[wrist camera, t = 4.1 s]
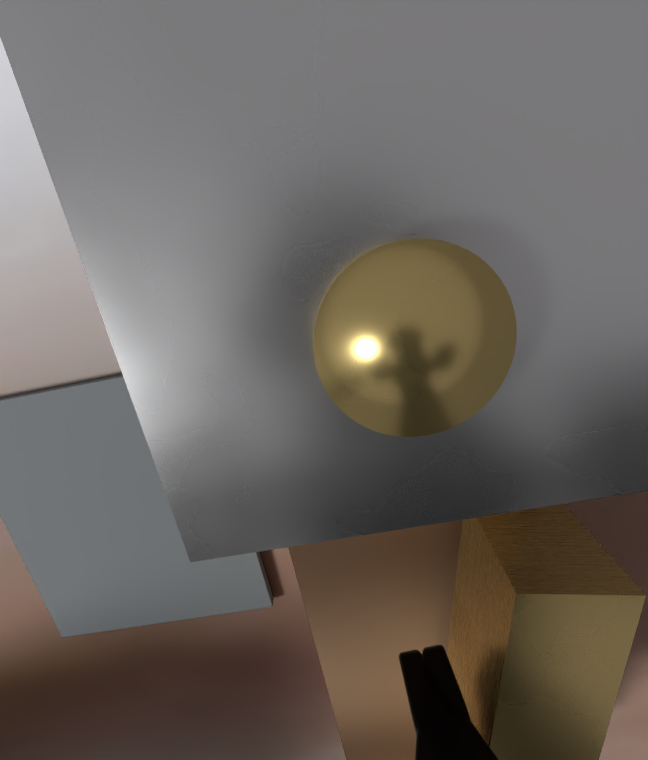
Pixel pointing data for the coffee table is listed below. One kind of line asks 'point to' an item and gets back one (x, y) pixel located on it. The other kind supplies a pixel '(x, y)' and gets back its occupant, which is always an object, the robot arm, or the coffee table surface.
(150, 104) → the grey squarish block
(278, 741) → the coffee table surface
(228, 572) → the felt pad
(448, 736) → the robot arm
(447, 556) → the body
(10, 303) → the coffee table surface
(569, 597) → the lever
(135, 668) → the coffee table surface
